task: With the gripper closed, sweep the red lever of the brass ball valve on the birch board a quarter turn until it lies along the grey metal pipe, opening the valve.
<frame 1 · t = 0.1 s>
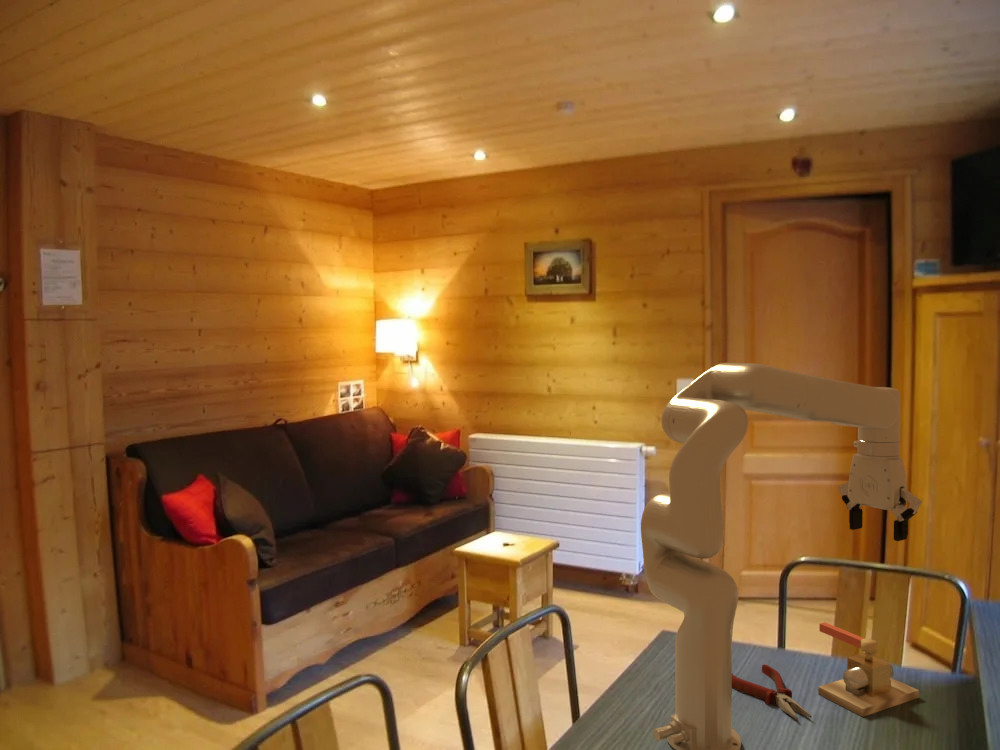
hand: (877, 534, 148), 31 cm above the table, tool pointing down, fingers open, 9 cm apart
valve body: (868, 669, 145), on the mounting board, point 5 cm above the table
mounting board: (868, 695, 145), on the table
valve lever: (847, 637, 149), point 10 cm above the table, hinge at 90.0°
pliers: (762, 698, 146), on the table
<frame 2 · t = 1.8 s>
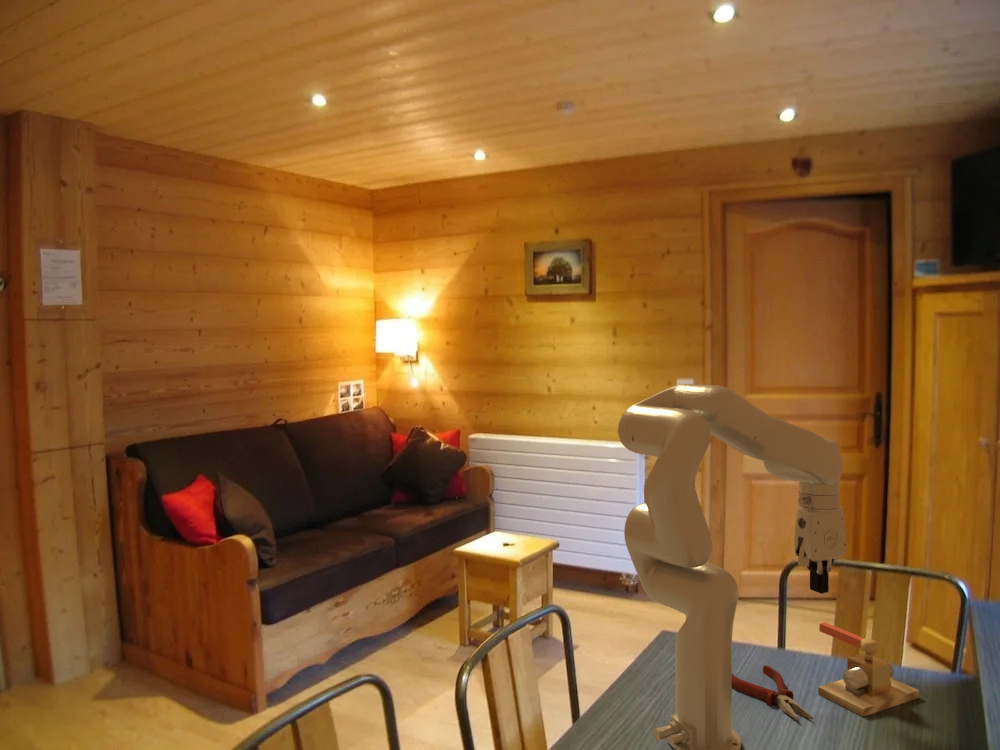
hand: (819, 590, 148), 20 cm above the table, tool pointing down, fingers closed
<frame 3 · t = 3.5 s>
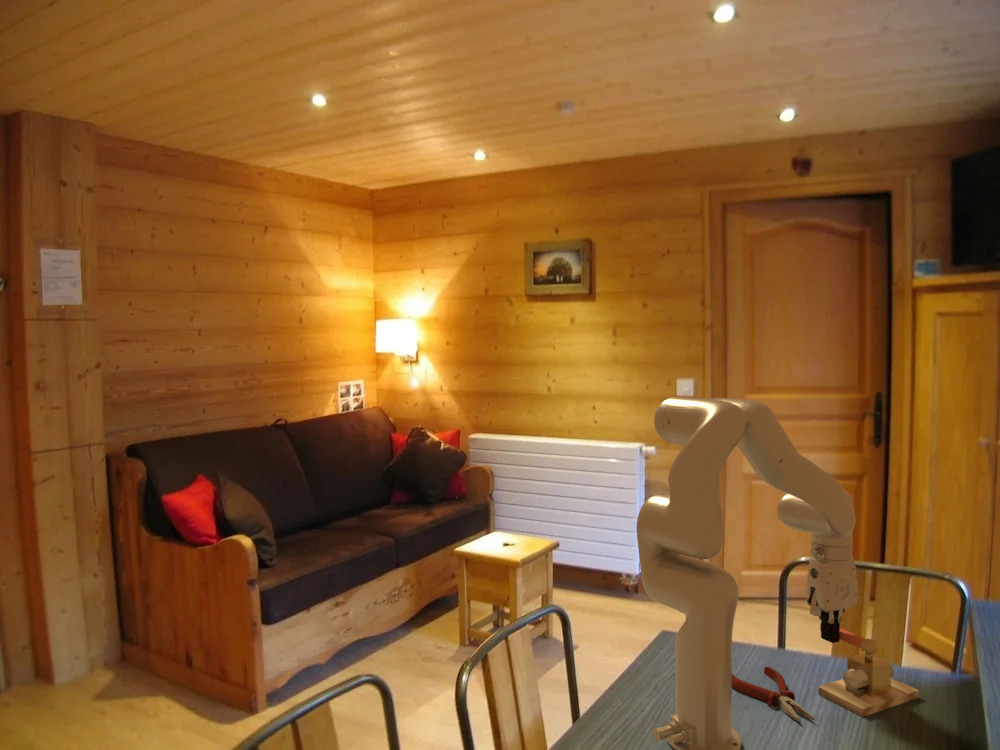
hand: (830, 639, 150), 9 cm above the table, tool pointing down, fingers closed
valve lever: (848, 637, 149), point 10 cm above the table, hinge at 88.5°, touching gripper
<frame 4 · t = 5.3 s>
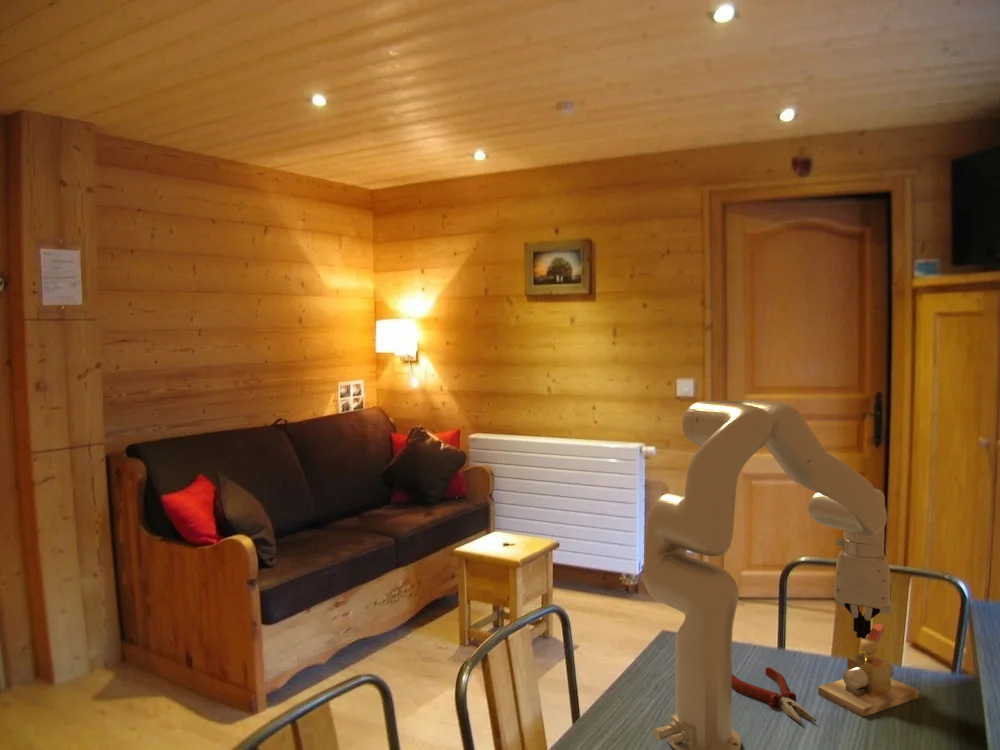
hand: (862, 636, 152), 9 cm above the table, tool pointing down, fingers closed
valve lever: (873, 637, 148), point 10 cm above the table, hinge at 26.9°, touching gripper
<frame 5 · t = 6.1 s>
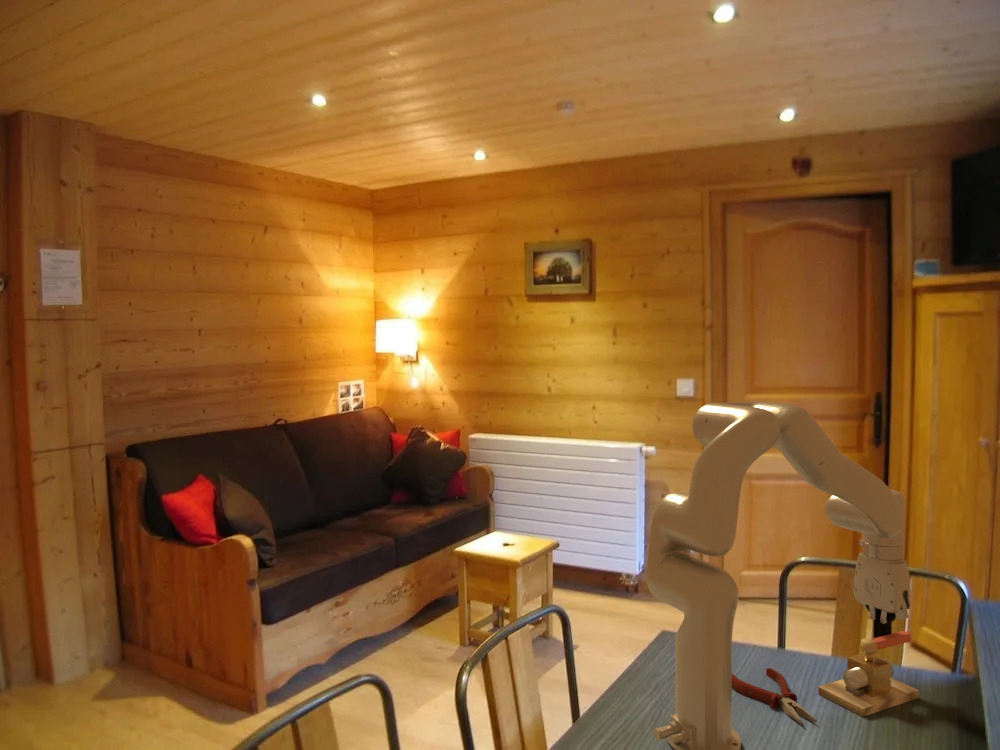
hand: (882, 639, 150), 9 cm above the table, tool pointing down, fingers closed
valve lever: (885, 641, 147), point 10 cm above the table, hinge at -1.4°, touching gripper
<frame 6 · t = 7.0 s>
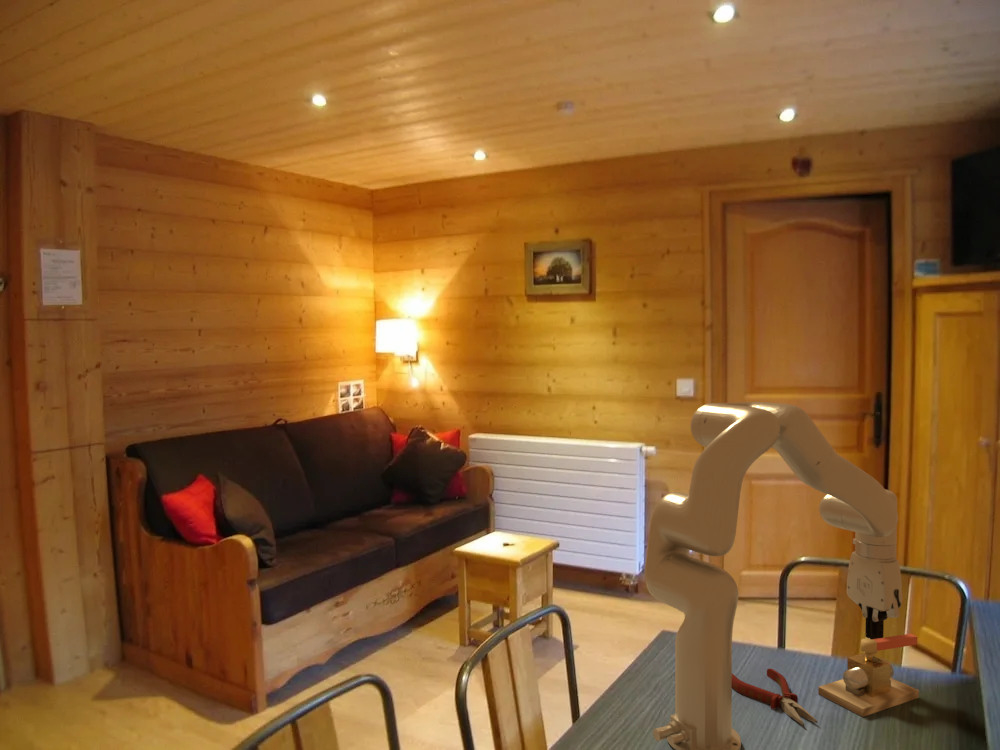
hand: (874, 637, 151), 9 cm above the table, tool pointing down, fingers closed
valve lever: (888, 642, 146), point 10 cm above the table, hinge at -9.8°
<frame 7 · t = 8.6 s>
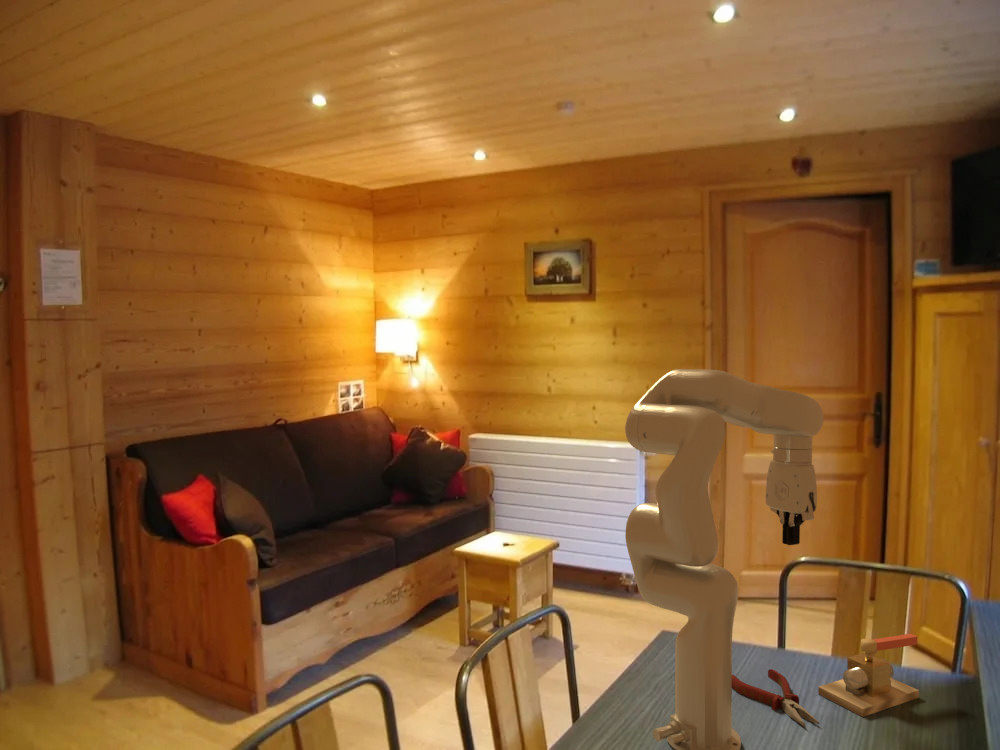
hand: (790, 543, 154), 28 cm above the table, tool pointing down, fingers closed
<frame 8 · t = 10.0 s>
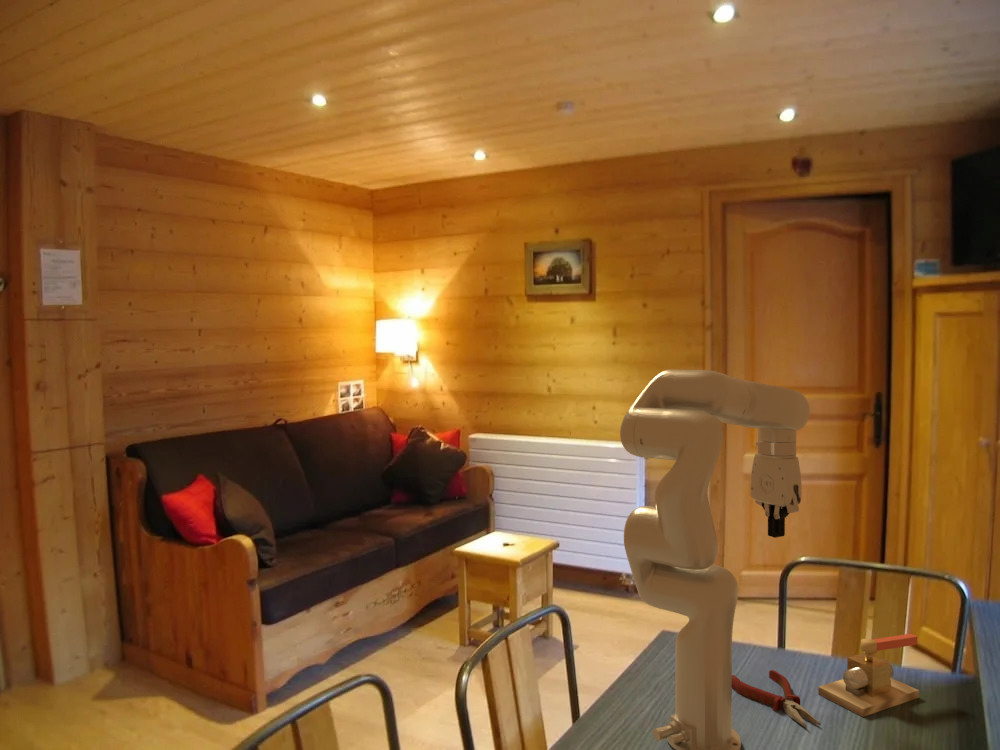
hand: (776, 535, 155), 29 cm above the table, tool pointing down, fingers closed
at the end: valve lever at -10° (first picture: +90°); pliers moved 2.9 cm from its start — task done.
